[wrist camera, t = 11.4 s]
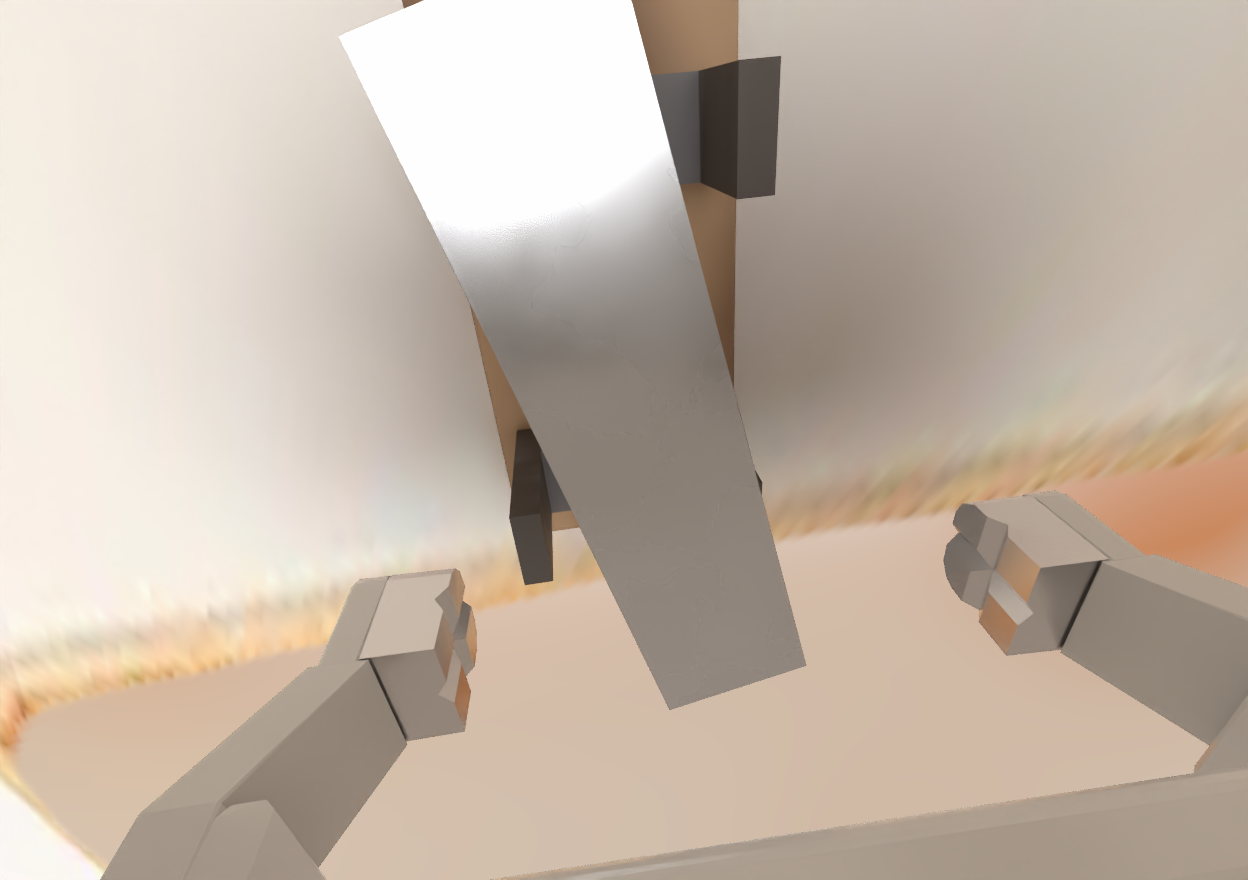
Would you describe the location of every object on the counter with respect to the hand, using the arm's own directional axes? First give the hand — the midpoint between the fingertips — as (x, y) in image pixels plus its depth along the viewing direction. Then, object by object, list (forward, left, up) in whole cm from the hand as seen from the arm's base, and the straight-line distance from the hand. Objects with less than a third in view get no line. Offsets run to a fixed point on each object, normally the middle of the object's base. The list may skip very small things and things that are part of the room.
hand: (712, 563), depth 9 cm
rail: (0, 0, -9) cm, 9 cm away
